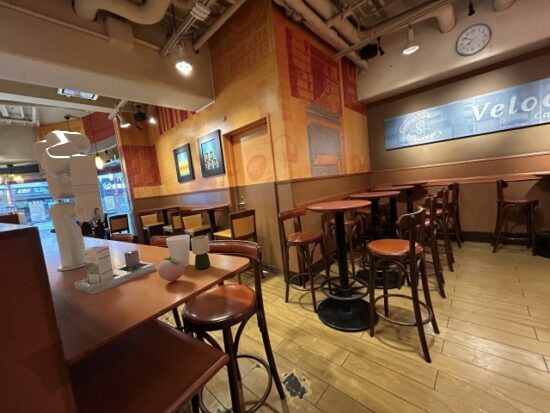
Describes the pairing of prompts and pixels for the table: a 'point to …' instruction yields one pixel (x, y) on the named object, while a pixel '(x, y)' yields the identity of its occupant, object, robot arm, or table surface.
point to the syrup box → (98, 264)
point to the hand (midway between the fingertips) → (93, 235)
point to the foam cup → (179, 248)
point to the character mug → (201, 251)
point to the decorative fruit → (171, 269)
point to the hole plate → (119, 274)
